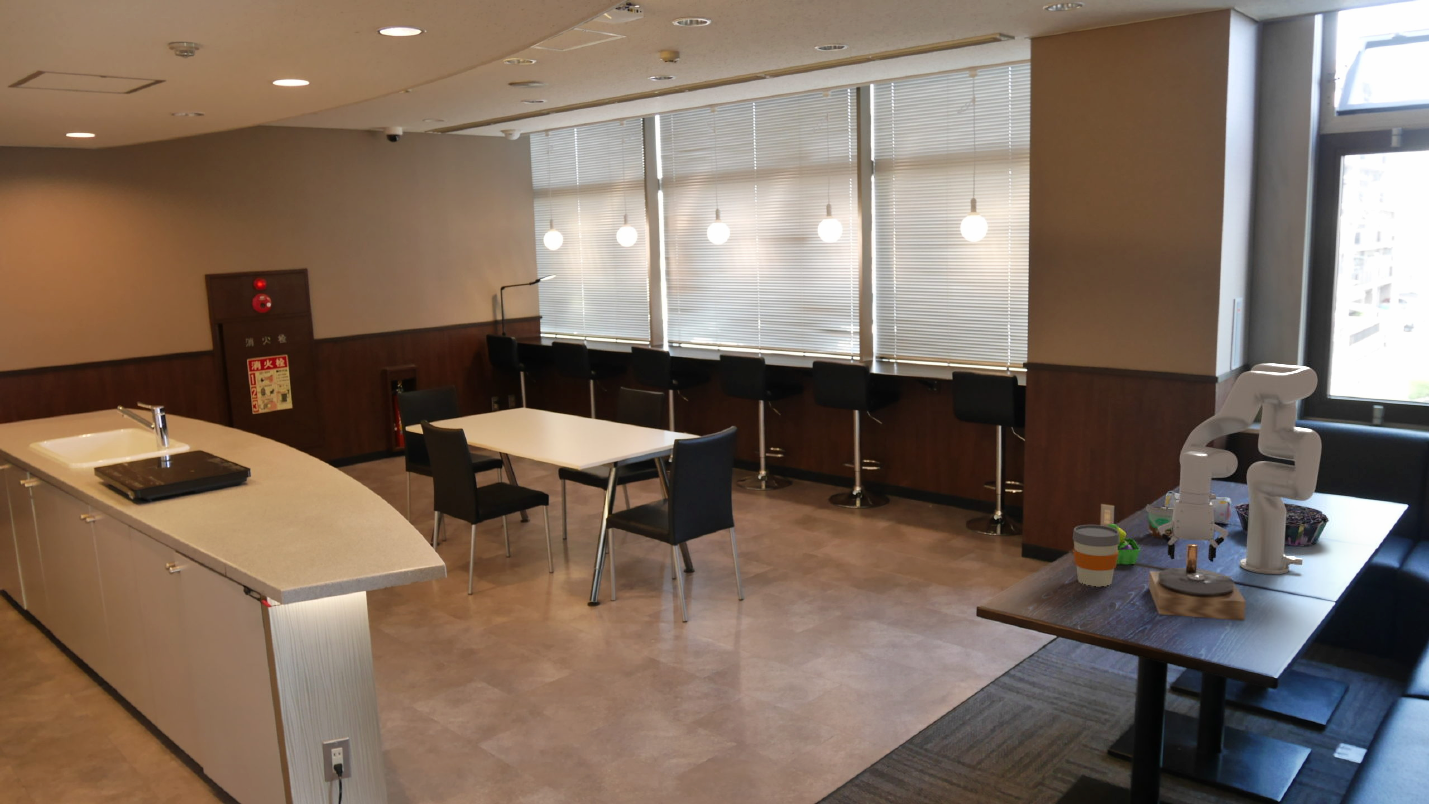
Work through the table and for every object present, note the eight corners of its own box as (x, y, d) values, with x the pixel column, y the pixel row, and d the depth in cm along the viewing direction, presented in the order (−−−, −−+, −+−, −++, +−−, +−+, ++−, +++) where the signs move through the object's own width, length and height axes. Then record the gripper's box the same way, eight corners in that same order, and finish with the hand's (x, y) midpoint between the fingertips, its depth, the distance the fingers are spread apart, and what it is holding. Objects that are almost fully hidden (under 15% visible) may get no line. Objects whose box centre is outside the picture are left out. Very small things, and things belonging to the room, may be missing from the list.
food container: (1145, 538, 321) (1146, 508, 320) (1144, 533, 327) (1145, 503, 325) (1187, 541, 316) (1188, 511, 315) (1185, 536, 322) (1187, 506, 321)
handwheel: (1226, 575, 268) (1227, 545, 267) (1240, 598, 251) (1242, 566, 250) (1154, 571, 274) (1155, 541, 272) (1163, 593, 257) (1164, 561, 255)
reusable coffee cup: (1113, 591, 274) (1115, 539, 272) (1066, 584, 281) (1068, 533, 278) (1122, 578, 285) (1123, 527, 282) (1076, 571, 291) (1078, 522, 289)
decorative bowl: (1302, 530, 331) (1303, 501, 330) (1347, 549, 303) (1348, 517, 303) (1222, 530, 333) (1223, 501, 332) (1259, 549, 306) (1260, 517, 305)
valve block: (1228, 593, 270) (1229, 575, 269) (1244, 620, 251) (1245, 601, 250) (1149, 588, 276) (1149, 571, 275) (1158, 614, 257) (1159, 595, 256)
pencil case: (1161, 519, 343) (1162, 492, 341) (1167, 513, 349) (1168, 487, 348) (1228, 528, 330) (1229, 500, 328) (1233, 521, 337) (1234, 494, 335)
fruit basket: (1140, 566, 294) (1141, 529, 293) (1108, 565, 296) (1110, 528, 294) (1132, 554, 305) (1133, 519, 304) (1102, 553, 307) (1103, 518, 305)
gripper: (1227, 496, 267) (1223, 557, 269) (1157, 492, 272) (1154, 552, 274) (1233, 502, 260) (1229, 565, 262) (1161, 499, 265) (1158, 561, 267)
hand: (1191, 559), depth 268 cm, fingers open, 9 cm apart
